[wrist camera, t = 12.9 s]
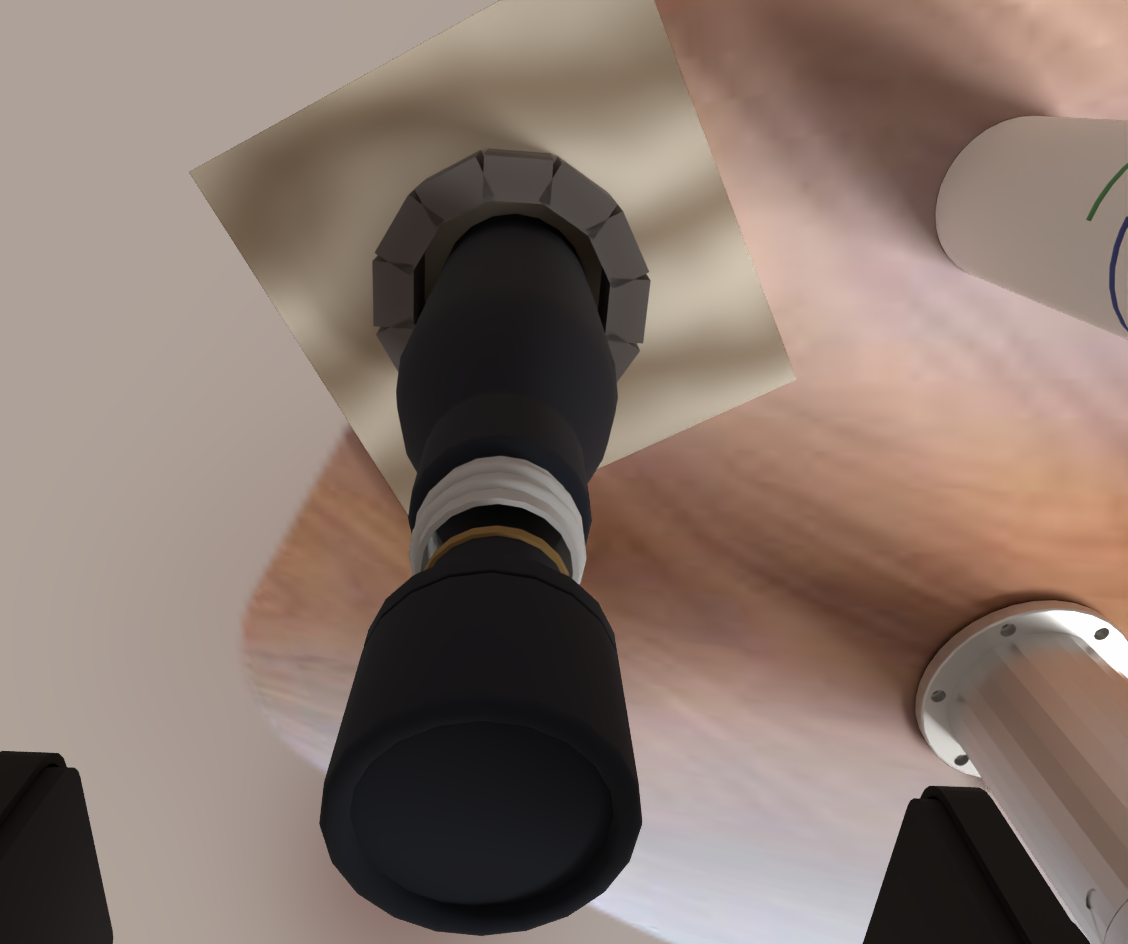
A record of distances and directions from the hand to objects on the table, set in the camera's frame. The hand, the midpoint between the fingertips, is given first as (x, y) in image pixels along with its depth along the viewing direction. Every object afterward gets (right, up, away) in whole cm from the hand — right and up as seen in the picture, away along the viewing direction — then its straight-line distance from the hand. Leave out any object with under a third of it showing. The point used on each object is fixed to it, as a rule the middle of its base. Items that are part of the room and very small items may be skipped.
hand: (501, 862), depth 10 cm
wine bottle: (-2, +13, +28) cm, 31 cm away
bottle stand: (-2, +14, +29) cm, 32 cm away
